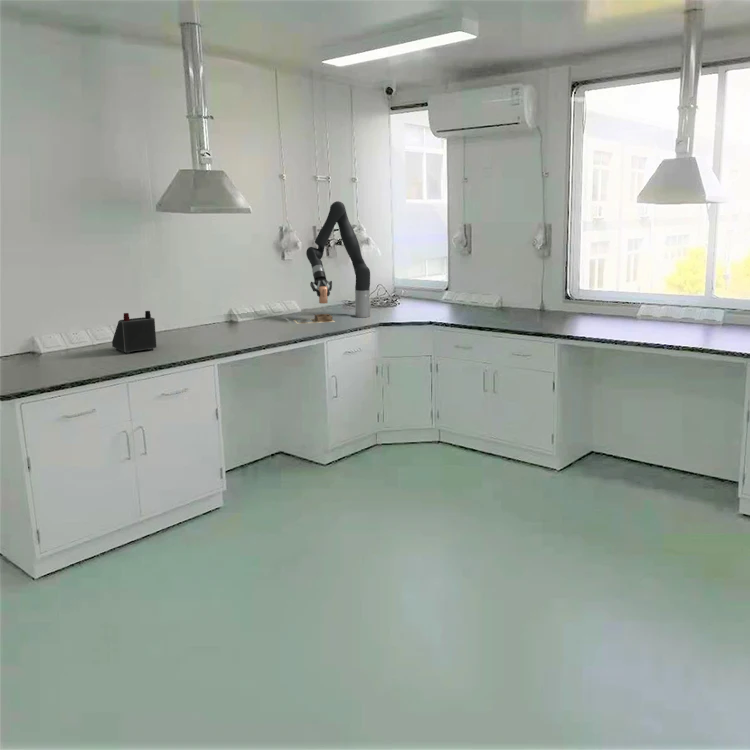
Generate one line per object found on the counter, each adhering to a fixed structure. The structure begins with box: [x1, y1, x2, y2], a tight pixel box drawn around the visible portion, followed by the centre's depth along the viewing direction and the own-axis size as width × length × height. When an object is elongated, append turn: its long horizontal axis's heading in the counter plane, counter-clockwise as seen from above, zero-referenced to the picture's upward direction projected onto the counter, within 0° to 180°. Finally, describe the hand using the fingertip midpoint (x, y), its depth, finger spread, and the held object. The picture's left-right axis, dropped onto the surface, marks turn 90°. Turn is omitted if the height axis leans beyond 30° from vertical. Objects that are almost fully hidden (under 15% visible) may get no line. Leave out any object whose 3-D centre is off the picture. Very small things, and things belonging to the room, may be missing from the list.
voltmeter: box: [111, 310, 158, 355], centre depth 345 cm, size 16×16×20 cm
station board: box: [292, 313, 336, 325], centre depth 427 cm, size 24×14×4 cm, turn 108°
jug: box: [318, 286, 329, 304], centre depth 424 cm, size 5×8×10 cm
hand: (323, 295), depth 423 cm, fingers closed on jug, 5 cm apart
